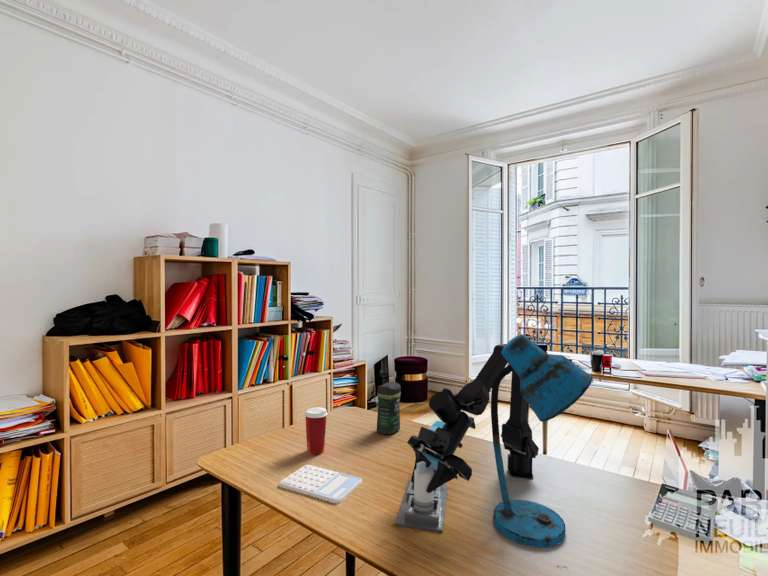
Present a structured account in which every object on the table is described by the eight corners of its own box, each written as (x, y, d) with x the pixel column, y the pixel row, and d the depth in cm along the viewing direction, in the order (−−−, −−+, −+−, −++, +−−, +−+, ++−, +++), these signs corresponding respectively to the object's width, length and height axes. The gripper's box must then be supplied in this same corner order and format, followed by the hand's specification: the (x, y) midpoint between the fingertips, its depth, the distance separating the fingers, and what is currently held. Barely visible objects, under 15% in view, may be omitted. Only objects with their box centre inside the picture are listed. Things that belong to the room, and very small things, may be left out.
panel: (447, 487, 110) (447, 479, 110) (442, 532, 90) (442, 522, 90) (409, 482, 112) (409, 474, 112) (395, 525, 92) (395, 516, 92)
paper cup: (331, 450, 134) (332, 409, 134) (316, 458, 127) (316, 415, 127) (314, 445, 138) (315, 405, 138) (298, 452, 131) (299, 411, 131)
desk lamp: (596, 561, 81) (599, 342, 81) (486, 536, 88) (488, 336, 88) (585, 518, 96) (587, 334, 96) (492, 500, 103) (494, 329, 103)
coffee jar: (391, 436, 146) (392, 387, 146) (373, 432, 150) (374, 384, 150) (403, 428, 155) (404, 381, 155) (385, 425, 159) (386, 379, 159)
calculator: (306, 468, 121) (307, 462, 121) (363, 483, 112) (363, 477, 112) (277, 488, 109) (277, 481, 109) (338, 506, 100) (338, 499, 100)
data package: (438, 473, 118) (438, 433, 118) (424, 470, 120) (424, 430, 120) (450, 458, 129) (450, 421, 129) (437, 455, 131) (437, 419, 131)
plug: (424, 504, 100) (425, 455, 100) (438, 513, 96) (438, 463, 96) (409, 510, 97) (409, 460, 97) (422, 520, 93) (423, 468, 93)
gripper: (412, 405, 106) (378, 455, 100) (464, 425, 91) (428, 486, 85) (434, 428, 111) (402, 478, 105) (486, 451, 96) (453, 511, 89)
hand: (419, 487), depth 96 cm, fingers open, 5 cm apart
